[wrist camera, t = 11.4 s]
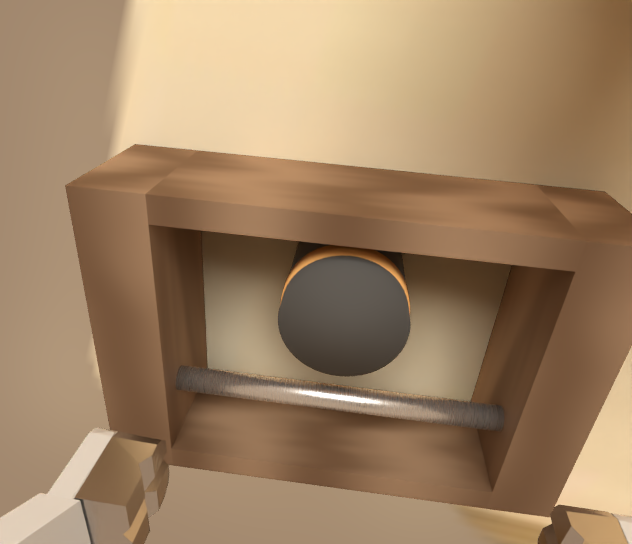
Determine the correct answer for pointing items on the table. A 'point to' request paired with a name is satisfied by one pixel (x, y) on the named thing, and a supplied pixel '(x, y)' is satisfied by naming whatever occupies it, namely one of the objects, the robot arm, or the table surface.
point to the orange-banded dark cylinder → (345, 308)
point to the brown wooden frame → (370, 233)
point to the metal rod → (341, 398)
